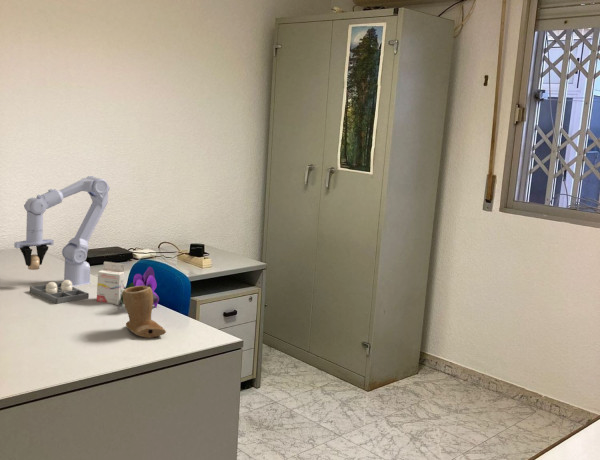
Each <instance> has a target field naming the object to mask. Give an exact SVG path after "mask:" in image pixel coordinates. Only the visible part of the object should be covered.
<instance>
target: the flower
mask: <svg viewBox="0 0 600 460" xmlns="http://www.w3.org/2000/svg"><path fill="white" fill-rule="evenodd" d="M155 276H156V275H155V271H154V268H153V267H152V266H148V267H147V269H146V271H145V272H144V273H143V275H142V274H141V273H135V274H134V276H133V280H132V281H131V282H130V283H129V284H128V285H127V286H126V287H125V289H126V288H129V287H135V286H147V287H150V288H151V289H152V292H153V306H154V307H155V308H158V307H157V306H158V304H159V301H160V297H159V295H158V294H157V293H156V292H155V290H156V288H157V285H158V284H157V280H156V278H155ZM121 301H122V302H121V304H124V303H123V296H122V297H121Z"/></svg>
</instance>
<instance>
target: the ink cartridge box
mask: <svg viewBox="0 0 600 460" xmlns="http://www.w3.org/2000/svg"><path fill="white" fill-rule="evenodd" d="M115 266H116V267H115ZM125 272H126V271H125V264H124V263H119V262H114V261H113V262H112V261H104V262H103V269H101V270H99V271H98V273H97V286H96V302H99V303H107V304H112V305H113V306H119V305H120V304H122V301H121V297H122V293H123V290H125V289H124V288H125V287H124V286H125Z"/></svg>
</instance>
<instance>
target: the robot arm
mask: <svg viewBox="0 0 600 460" xmlns="http://www.w3.org/2000/svg"><path fill="white" fill-rule="evenodd" d="M109 191H110V186H109V184H108V181H107V180H106V179H104V178H99V177H96V176H93V175H88V176H87V177H84V178H81V179H80V180H78V181H76V182H74V183H72V184H69V185H68V186H65V187H64V188H61V189H60V190H58V189H51V188H50V189H48V190H47V191H46V192H45V193H41V194H38V195H36V197H30V198H28V199H27V200H26V201H25V204H23V207H24V209H25V211H26V227H25V229H26V235H25V237H26V239H25V240H23V241H22V240H21V241H15V242H14V244H13V245H14V246H13V247H14V248H15V249H19V250H20V252H21V253H22V255H23V256H22V257H23V258H24V263H25V266H27V267H28V266H30V264H31V255H32V252H33V249H32V248H31V247H36V255H38V256H39V259H40V263H39V266H41V265H42V263H43V261H44V258H45V256H46V254H47V251H48V250H49V246H54V239H50V238H49V239H47V238H46V239H43V237H44V236H43V235H44V234H43V233H44V213H45V212H46V211H47V210H48V209H50V208H53V207H55V206H57V205H59V204H62V202H63V200H64V199H66V198H68V197H70V196H72V195H75V194H78V193H80V192H87V194H88V195H89V196H90V198H91V204H90V207H89V208H88V210H87V212H86V214H85V216H84V218H83V220H82V222H81V224H80V226H79V228H78V230H77V232H76V234H75V235H74V237H72V238H70V240H69V241H68V243H67V244H66V245H65V246H63V248H62V250H61V254H62V256H63V258H64V268H63V269H64V271H63V272H64V274H63V276H64V277H63V280H62V281H61V282H63V281H64V280H70V281H71V282H72V287H77V286H83V285H91V284H92V283H91V267H90V263H89V262H87V261H86V260H87V256H88V251H89V248H90V247H89V241H90V239H91V237H92V234H93V233H94V232H95V231H94V230H95V229H96V227H97V225H98V223H99V222H100V218H101V217H102V215H103V213H104V212H105V210H106V207H107V205H108V203H109V199H108V198H109Z"/></svg>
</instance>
